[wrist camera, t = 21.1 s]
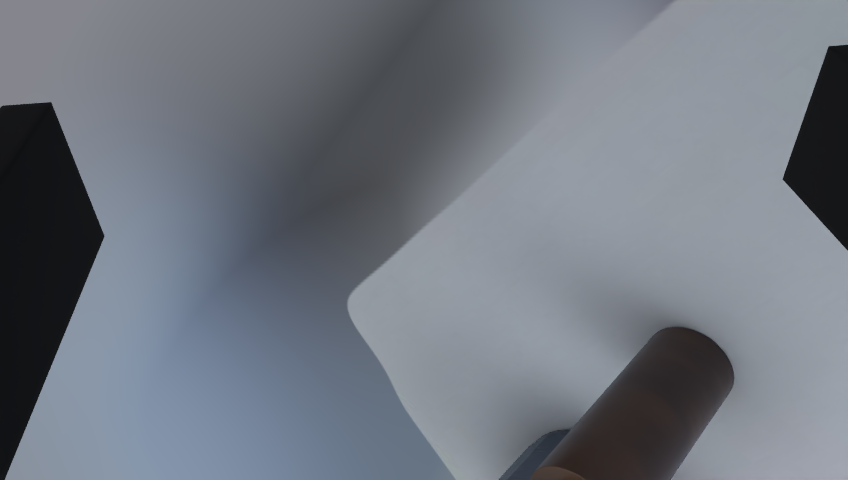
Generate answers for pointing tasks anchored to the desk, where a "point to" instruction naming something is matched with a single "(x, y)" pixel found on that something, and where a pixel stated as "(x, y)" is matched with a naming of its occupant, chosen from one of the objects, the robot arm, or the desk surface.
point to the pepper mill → (646, 413)
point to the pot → (534, 456)
